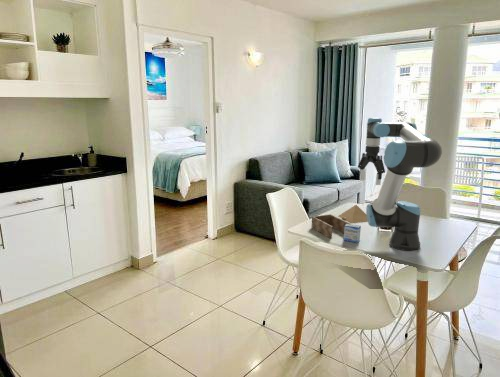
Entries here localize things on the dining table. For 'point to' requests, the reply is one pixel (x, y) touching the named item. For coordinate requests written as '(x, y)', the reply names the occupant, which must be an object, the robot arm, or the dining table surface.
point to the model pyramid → (354, 215)
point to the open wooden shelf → (328, 224)
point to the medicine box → (352, 233)
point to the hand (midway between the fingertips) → (369, 182)
